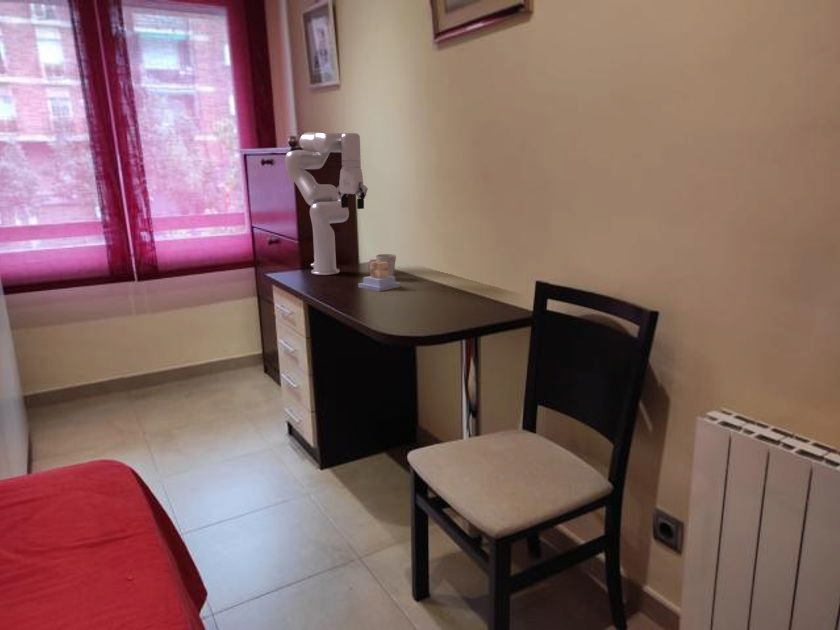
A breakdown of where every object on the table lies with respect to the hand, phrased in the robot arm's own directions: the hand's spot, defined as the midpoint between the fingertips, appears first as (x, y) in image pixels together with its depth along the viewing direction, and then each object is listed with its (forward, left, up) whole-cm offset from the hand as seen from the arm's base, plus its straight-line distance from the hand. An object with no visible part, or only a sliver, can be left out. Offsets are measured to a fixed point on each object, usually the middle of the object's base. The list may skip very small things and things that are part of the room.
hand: (352, 208), depth 241 cm
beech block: (+17, -2, -26) cm, 31 cm away
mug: (+5, +11, -31) cm, 33 cm away
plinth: (+17, -2, -30) cm, 35 cm away
